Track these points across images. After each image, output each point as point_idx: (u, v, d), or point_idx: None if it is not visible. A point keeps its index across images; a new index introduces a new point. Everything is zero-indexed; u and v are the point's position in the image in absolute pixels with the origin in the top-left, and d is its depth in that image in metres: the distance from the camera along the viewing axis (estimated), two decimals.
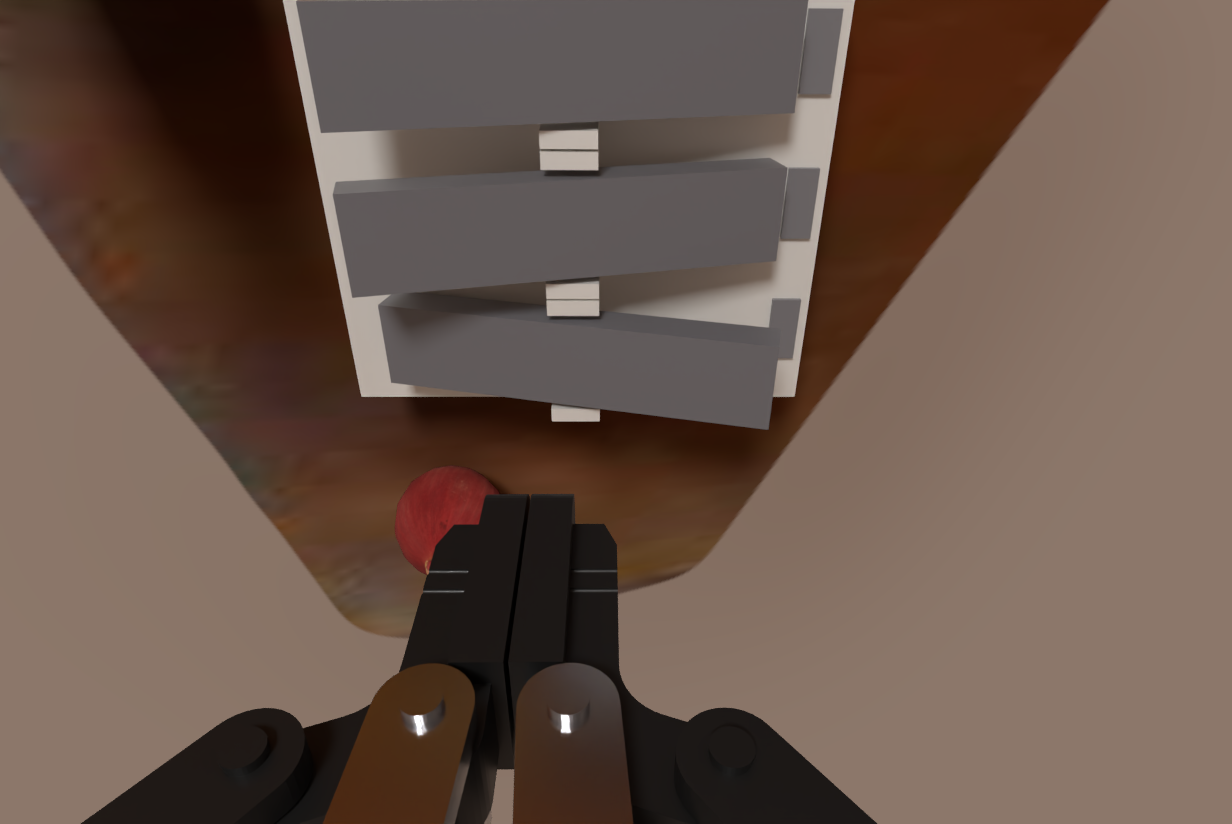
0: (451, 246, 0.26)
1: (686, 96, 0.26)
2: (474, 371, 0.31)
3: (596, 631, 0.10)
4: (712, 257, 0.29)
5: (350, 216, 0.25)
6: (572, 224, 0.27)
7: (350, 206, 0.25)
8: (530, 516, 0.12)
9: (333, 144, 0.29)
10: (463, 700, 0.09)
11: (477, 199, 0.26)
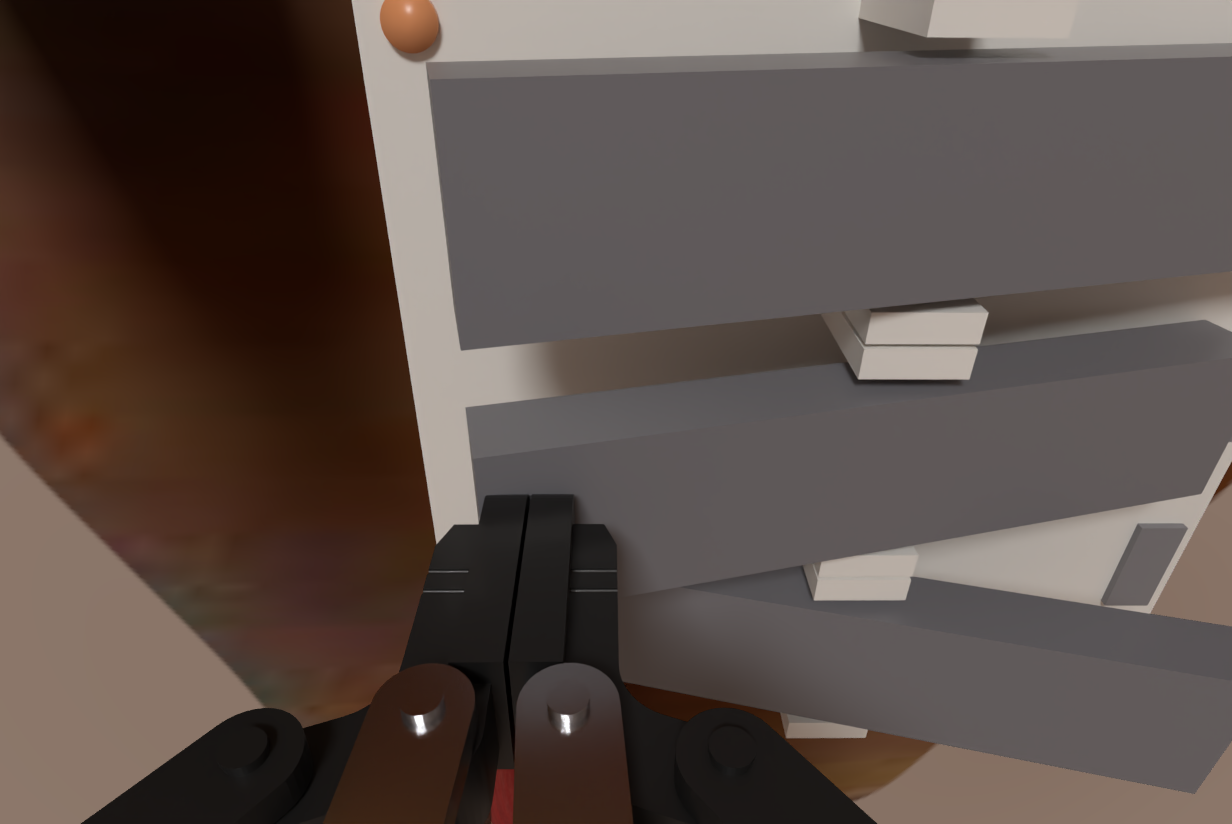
0: (683, 523, 0.14)
1: (1158, 242, 0.13)
2: (661, 660, 0.18)
3: (596, 631, 0.10)
4: (1108, 498, 0.16)
5: (503, 493, 0.12)
6: (900, 469, 0.14)
7: (505, 477, 0.12)
8: (530, 516, 0.12)
9: (436, 298, 0.16)
10: (463, 700, 0.09)
11: (744, 444, 0.13)
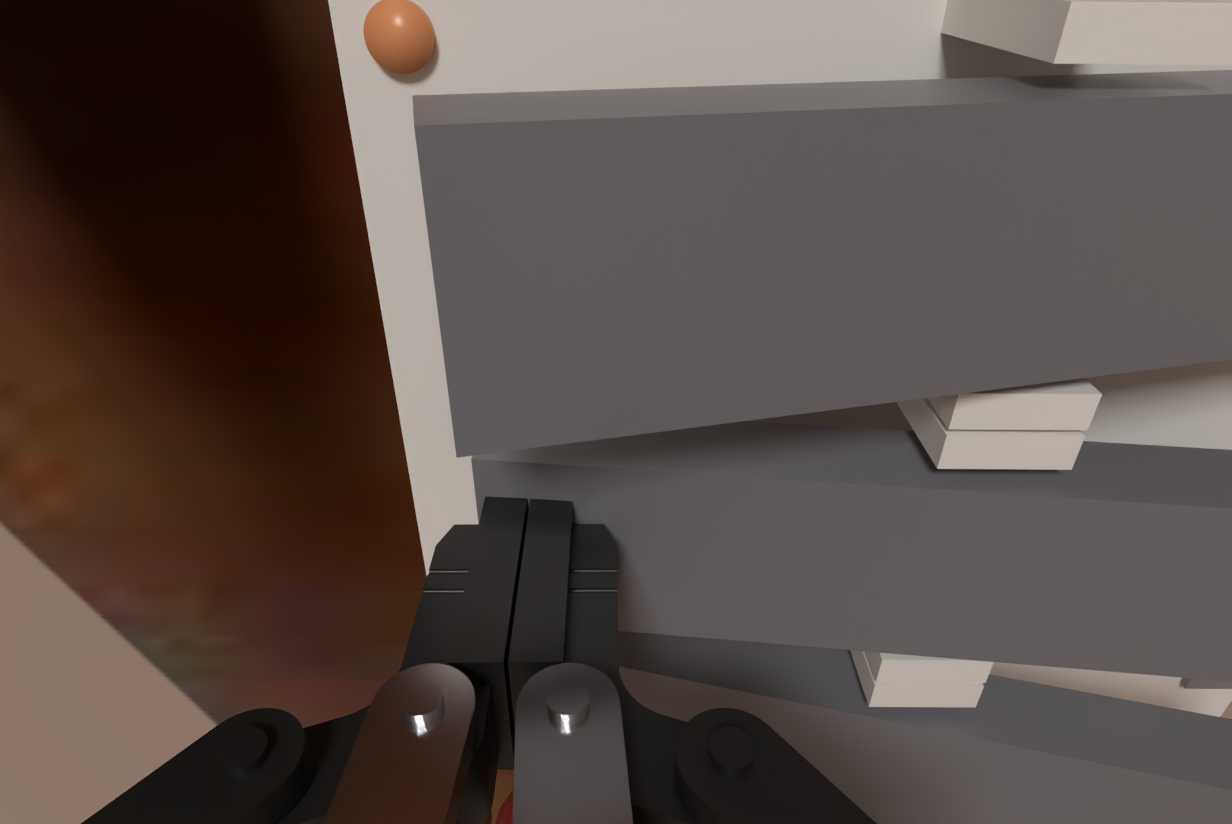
0: (692, 571, 0.13)
1: None
2: None
3: (596, 631, 0.10)
4: None
5: None
6: (964, 569, 0.12)
7: (503, 482, 0.12)
8: (530, 516, 0.12)
9: (433, 353, 0.14)
10: (464, 700, 0.09)
11: (765, 501, 0.12)
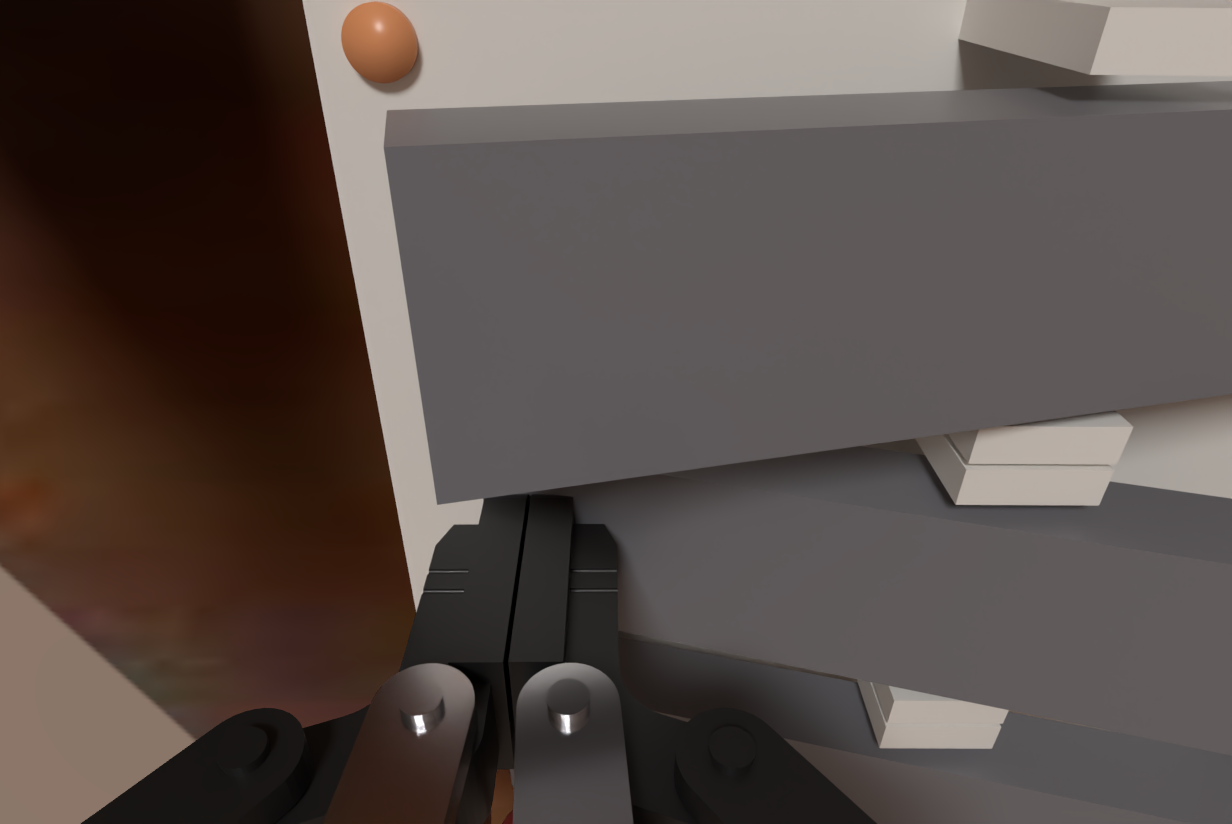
0: (689, 578, 0.12)
1: None
2: None
3: (596, 631, 0.10)
4: None
5: None
6: (974, 607, 0.11)
7: None
8: (530, 516, 0.12)
9: None
10: (463, 700, 0.09)
11: (763, 515, 0.11)
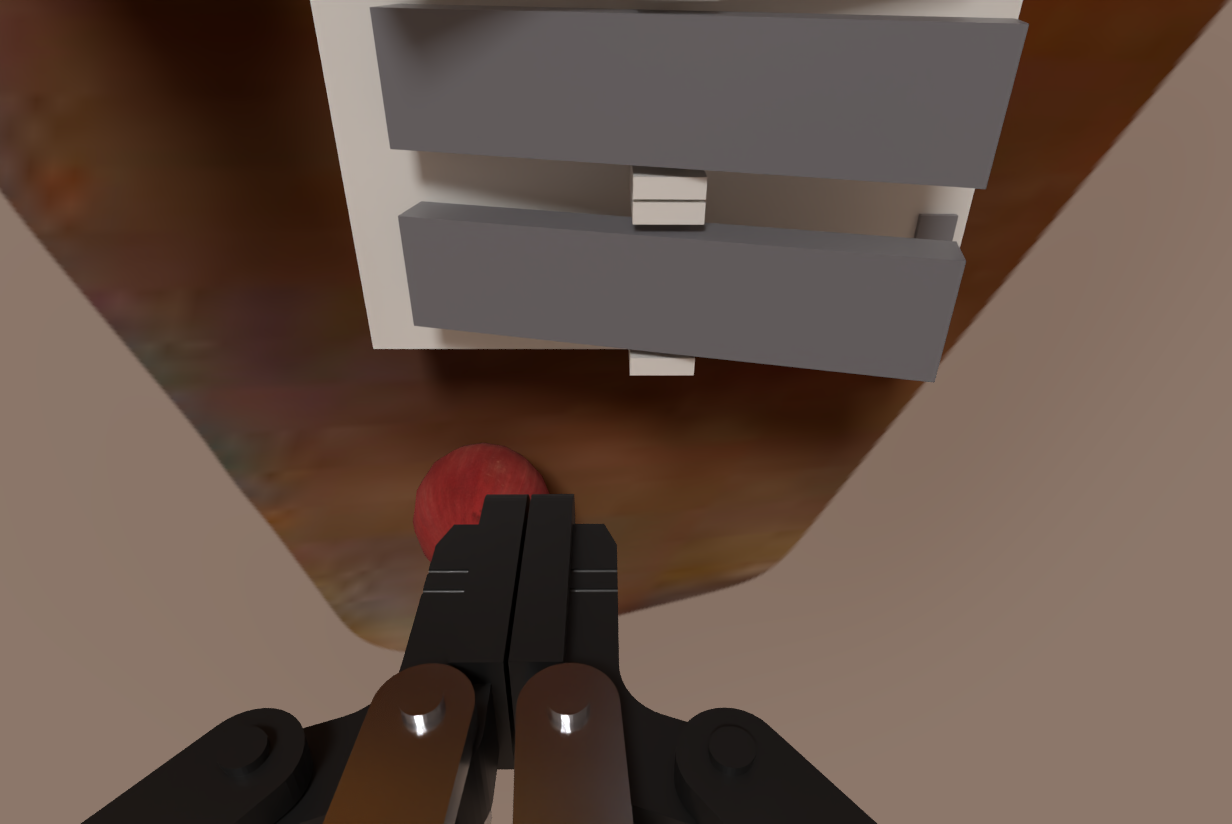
0: (503, 96, 0.20)
1: None
2: (527, 307, 0.23)
3: (596, 631, 0.10)
4: (874, 166, 0.19)
5: (388, 39, 0.20)
6: (662, 84, 0.19)
7: (388, 25, 0.20)
8: (530, 516, 0.12)
9: None
10: (463, 700, 0.09)
11: (537, 32, 0.19)
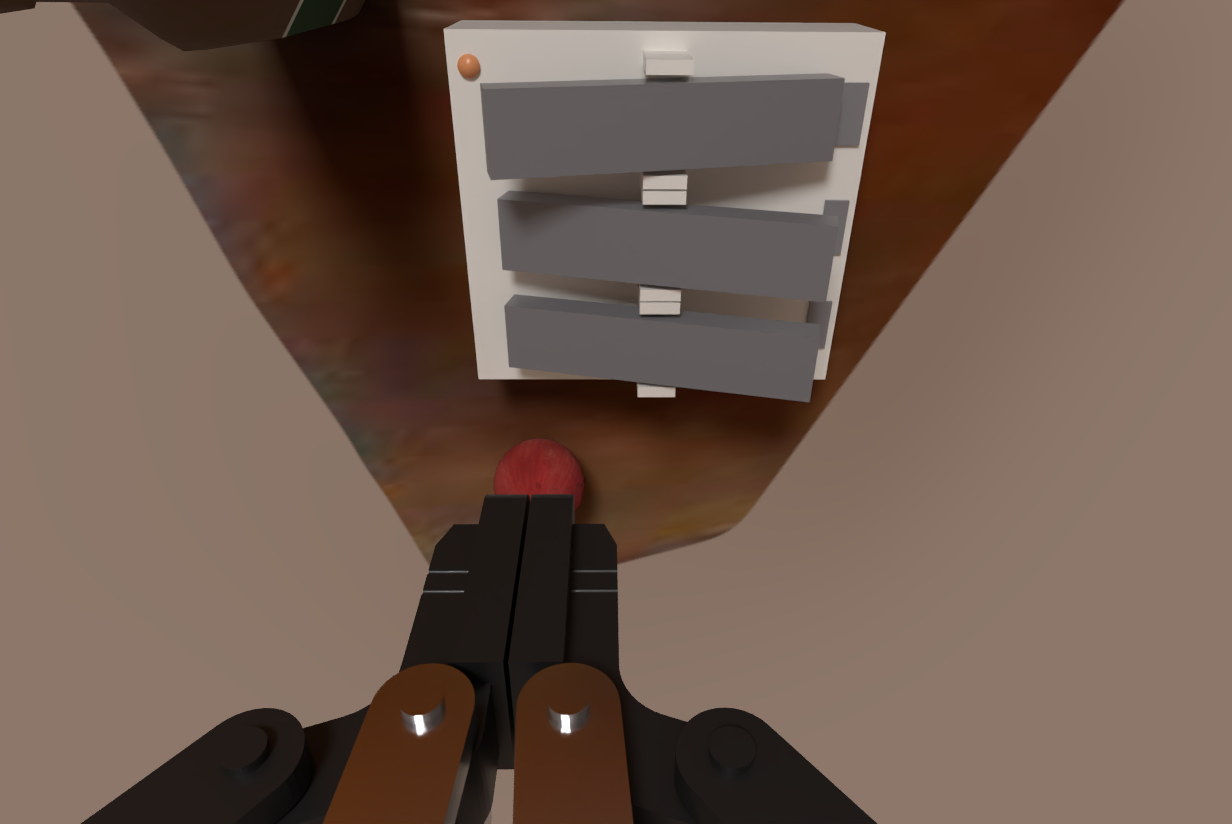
0: (569, 246, 0.37)
1: (753, 150, 0.34)
2: (577, 357, 0.40)
3: (596, 631, 0.10)
4: (768, 289, 0.35)
5: (506, 215, 0.37)
6: (656, 244, 0.36)
7: (507, 208, 0.36)
8: (530, 516, 0.12)
9: (475, 182, 0.37)
10: (463, 700, 0.09)
11: (589, 216, 0.36)
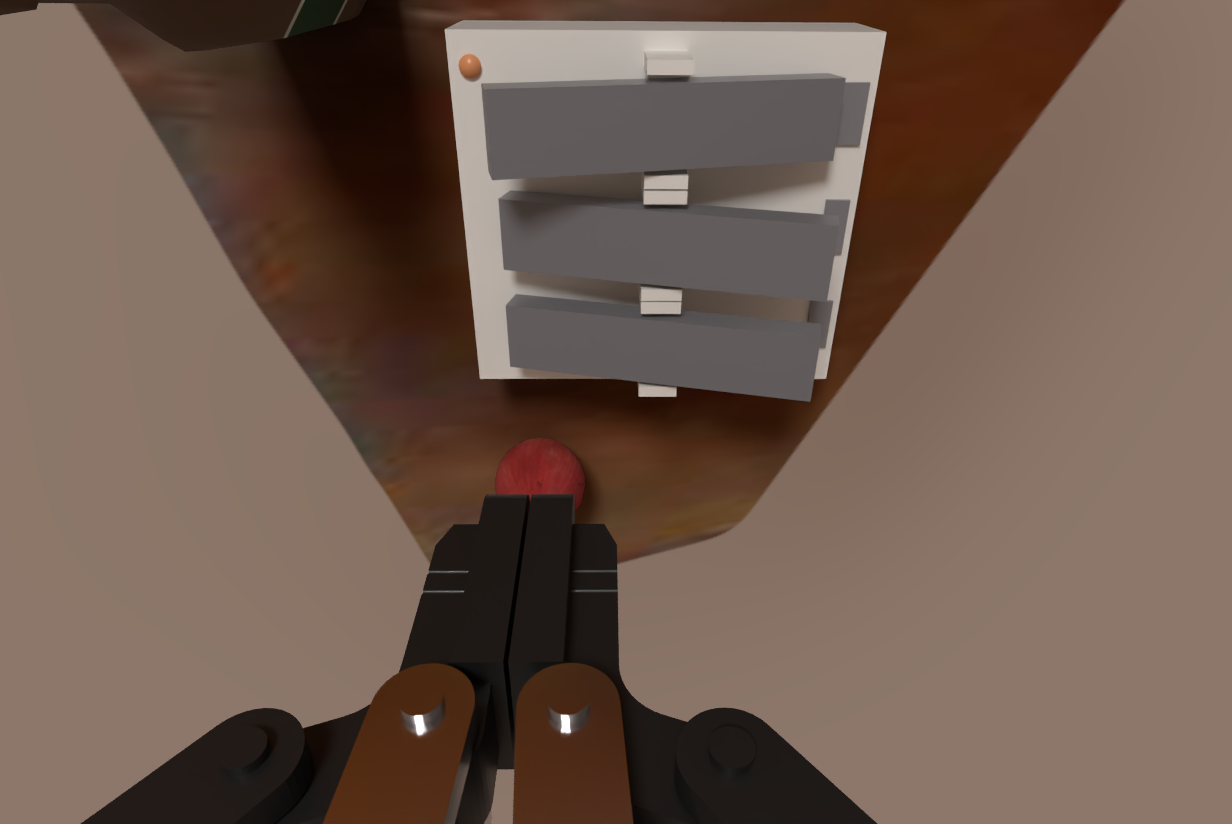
0: (570, 245, 0.37)
1: (754, 150, 0.34)
2: (579, 357, 0.40)
3: (596, 631, 0.10)
4: (769, 288, 0.35)
5: (507, 215, 0.37)
6: (657, 244, 0.36)
7: (508, 208, 0.37)
8: (530, 516, 0.12)
9: (476, 182, 0.38)
10: (463, 700, 0.09)
11: (590, 215, 0.36)
